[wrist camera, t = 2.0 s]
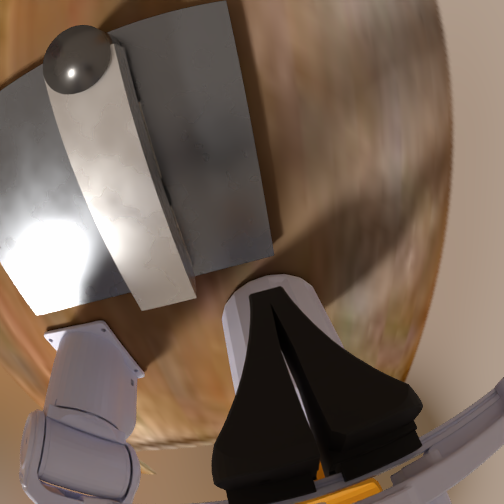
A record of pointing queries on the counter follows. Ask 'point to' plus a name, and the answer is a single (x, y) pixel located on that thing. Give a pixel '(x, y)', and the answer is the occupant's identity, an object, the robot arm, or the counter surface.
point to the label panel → (165, 154)
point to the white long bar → (116, 164)
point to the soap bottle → (237, 341)
